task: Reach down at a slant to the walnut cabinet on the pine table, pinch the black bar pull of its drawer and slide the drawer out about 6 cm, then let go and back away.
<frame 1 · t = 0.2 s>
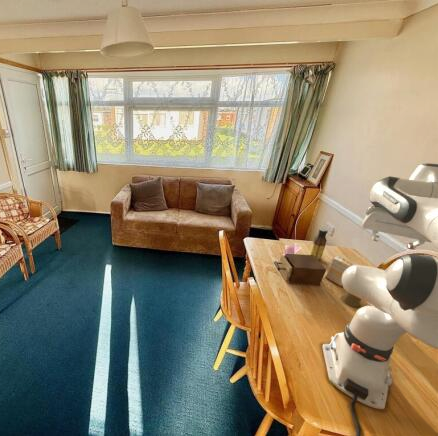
hand: (391, 244, 83), 39 cm above the table, tool pointing down, fingers open, 8 cm apart
supplement box: (335, 281, 122), on the table
lily: (289, 258, 141), on the table
sauce bottle: (313, 258, 141), on the table
cabinet: (299, 276, 125), on the table
drawer: (292, 268, 124), point 5 cm above the table, slide at 1.0 cm
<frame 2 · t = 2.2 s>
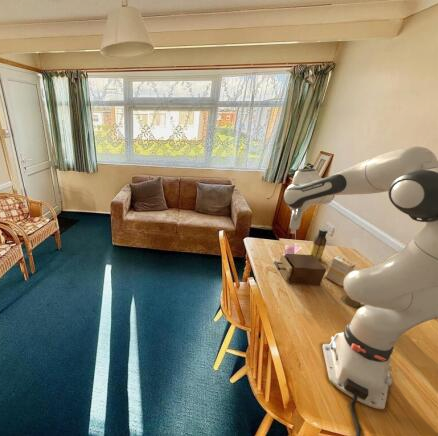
hand: (293, 228, 112), 31 cm above the table, tool pointing down, fingers open, 8 cm apart
nothing on the table moved.
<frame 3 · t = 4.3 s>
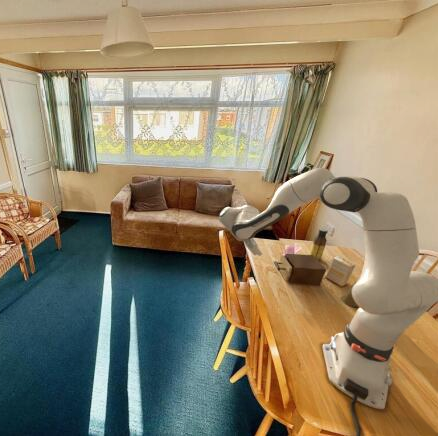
hand: (257, 249, 122), 16 cm above the table, tool tilted 45°, fingers open, 8 cm apart
nothing on the table moved.
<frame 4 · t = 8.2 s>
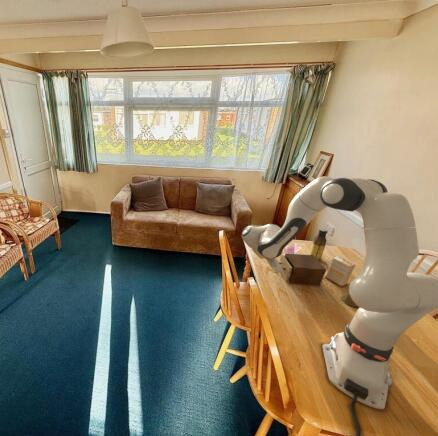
hand: (278, 266, 124), 6 cm above the table, tool tilted 45°, fingers closed on drawer, 6 cm apart
drawer: (292, 268, 124), point 5 cm above the table, slide at 1.0 cm, touching gripper
everything else where it was.
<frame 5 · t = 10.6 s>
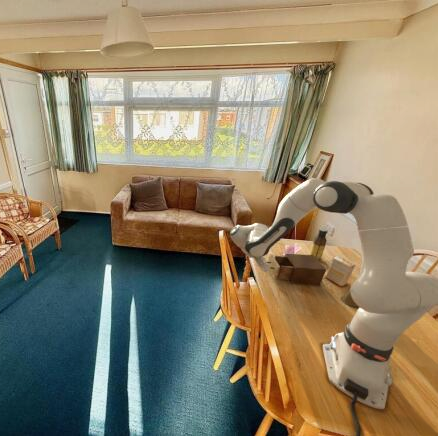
hand: (267, 265, 125), 6 cm above the table, tool tilted 45°, fingers closed on drawer, 6 cm apart
drawer: (280, 267, 124), point 5 cm above the table, slide at 6.9 cm, touching gripper
everything else where it was.
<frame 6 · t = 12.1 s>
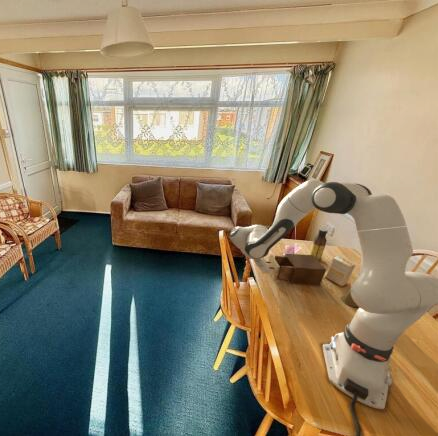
hand: (266, 266, 125), 5 cm above the table, tool tilted 45°, fingers open, 8 cm apart
drawer: (280, 267, 124), point 5 cm above the table, slide at 7.0 cm
everything else where it was.
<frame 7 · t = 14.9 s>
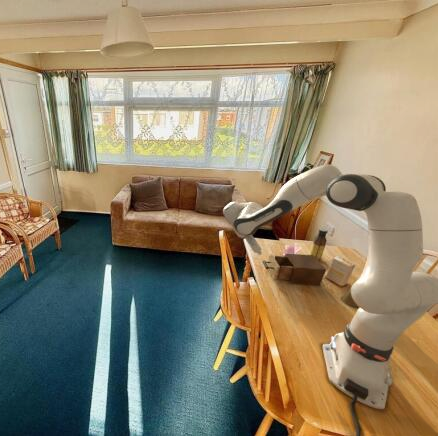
hand: (257, 249, 120), 17 cm above the table, tool tilted 40°, fingers open, 8 cm apart
nothing on the table moved.
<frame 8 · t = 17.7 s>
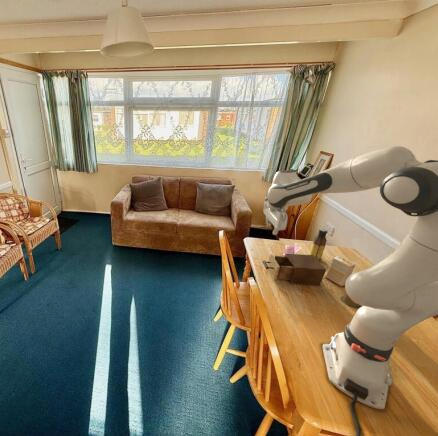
hand: (270, 229, 114), 29 cm above the table, tool pointing down, fingers open, 8 cm apart
nothing on the table moved.
at the end: drawer slide at 7.0 cm; the gripper is holding nothing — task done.
